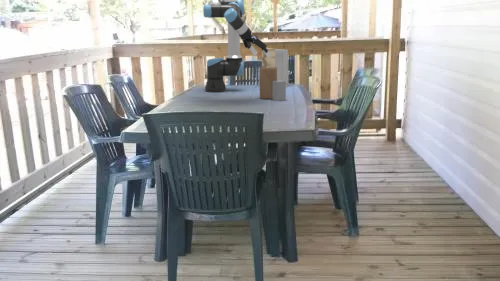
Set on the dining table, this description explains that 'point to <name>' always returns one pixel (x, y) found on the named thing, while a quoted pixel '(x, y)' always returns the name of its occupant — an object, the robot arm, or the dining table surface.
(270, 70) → the block
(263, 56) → the oak block
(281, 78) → the white tall box
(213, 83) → the robot arm
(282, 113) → the dining table surface
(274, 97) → the grey block
